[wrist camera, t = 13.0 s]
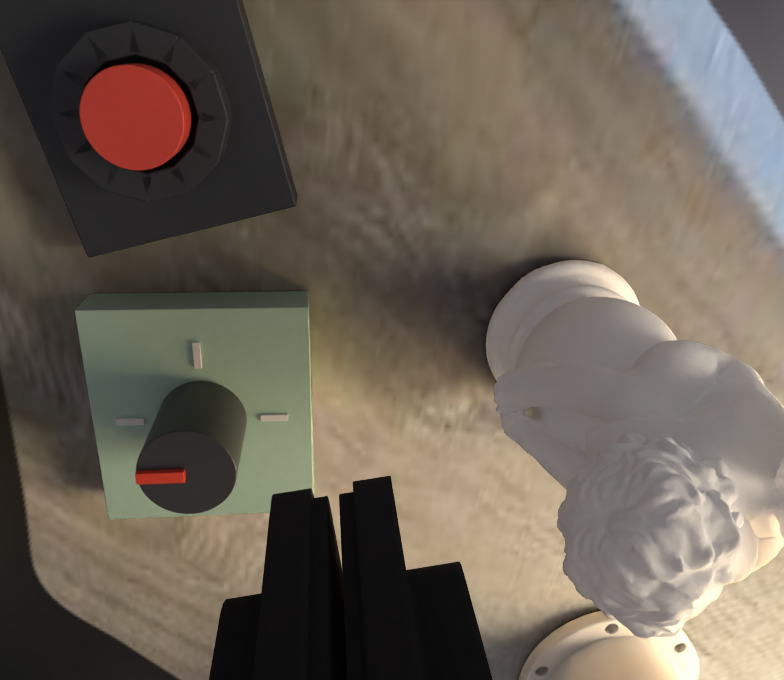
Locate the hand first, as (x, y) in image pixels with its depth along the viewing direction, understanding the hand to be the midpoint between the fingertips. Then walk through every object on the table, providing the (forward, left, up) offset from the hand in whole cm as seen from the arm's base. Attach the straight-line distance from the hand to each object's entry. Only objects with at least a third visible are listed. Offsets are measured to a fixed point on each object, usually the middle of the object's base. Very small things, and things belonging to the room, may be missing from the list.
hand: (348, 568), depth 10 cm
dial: (-10, +8, -25) cm, 28 cm away
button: (+5, +7, -24) cm, 25 cm away
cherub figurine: (-8, -13, -27) cm, 31 cm away
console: (-10, +8, -27) cm, 30 cm away
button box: (+5, +7, -27) cm, 28 cm away
